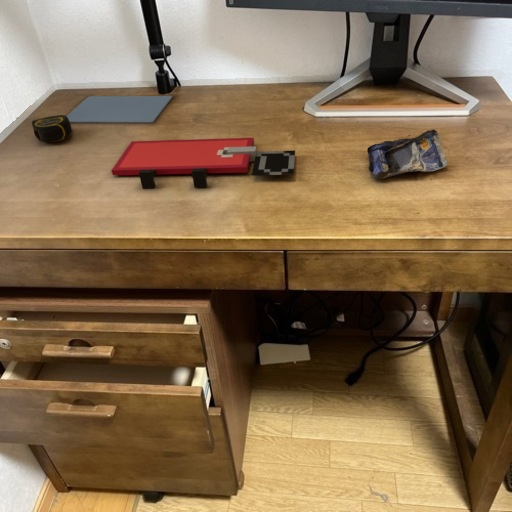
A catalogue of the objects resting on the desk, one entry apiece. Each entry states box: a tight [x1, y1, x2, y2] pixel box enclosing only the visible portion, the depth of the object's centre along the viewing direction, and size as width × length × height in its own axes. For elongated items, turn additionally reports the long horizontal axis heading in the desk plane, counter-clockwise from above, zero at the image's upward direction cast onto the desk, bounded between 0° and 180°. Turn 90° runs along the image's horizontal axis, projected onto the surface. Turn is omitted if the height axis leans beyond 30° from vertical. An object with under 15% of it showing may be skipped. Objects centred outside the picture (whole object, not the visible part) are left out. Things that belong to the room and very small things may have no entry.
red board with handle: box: [110, 137, 296, 190], centre depth 82 cm, size 30×3×15 cm
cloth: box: [66, 95, 174, 124], centre depth 106 cm, size 20×14×1 cm
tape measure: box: [31, 114, 73, 143], centre depth 95 cm, size 7×7×4 cm
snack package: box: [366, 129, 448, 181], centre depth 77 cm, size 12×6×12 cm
